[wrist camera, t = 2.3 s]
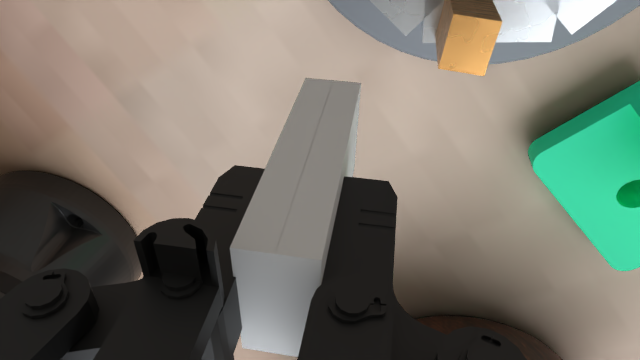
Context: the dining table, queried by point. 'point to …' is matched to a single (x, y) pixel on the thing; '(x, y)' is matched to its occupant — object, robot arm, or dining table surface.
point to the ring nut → (485, 24)
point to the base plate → (372, 21)
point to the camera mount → (598, 174)
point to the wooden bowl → (531, 348)
